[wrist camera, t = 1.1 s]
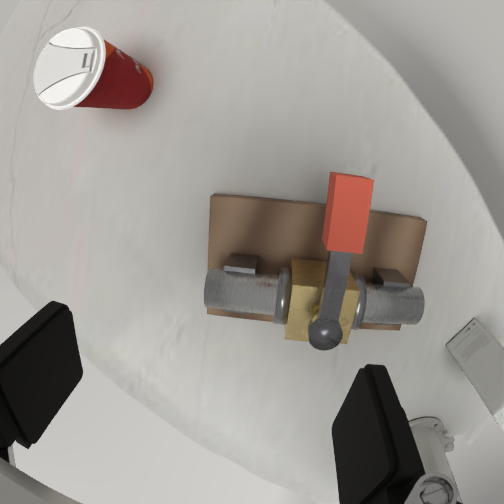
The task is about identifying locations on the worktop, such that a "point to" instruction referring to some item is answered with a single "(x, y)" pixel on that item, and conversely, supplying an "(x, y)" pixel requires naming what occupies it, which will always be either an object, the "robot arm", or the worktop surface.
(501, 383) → the skincare box
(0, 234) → the worktop surface
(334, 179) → the valve lever
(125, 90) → the paper cup
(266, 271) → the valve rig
